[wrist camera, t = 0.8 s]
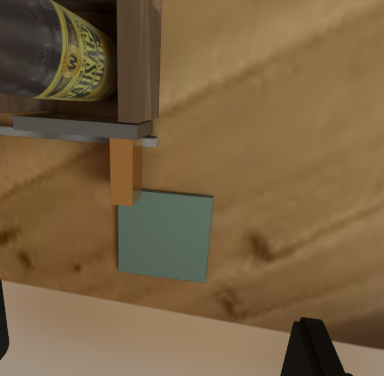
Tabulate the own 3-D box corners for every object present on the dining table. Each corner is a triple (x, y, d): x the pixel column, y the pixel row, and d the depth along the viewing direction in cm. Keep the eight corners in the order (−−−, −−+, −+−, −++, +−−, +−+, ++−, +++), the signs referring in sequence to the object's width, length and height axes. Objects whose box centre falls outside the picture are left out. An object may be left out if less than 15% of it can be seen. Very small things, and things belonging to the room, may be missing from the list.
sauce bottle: (119, 110, 30) (-76, 134, 11) (61, 87, 30) (-236, 71, 11) (138, 41, 28) (-63, -79, 9) (75, 17, 28) (-260, -155, 9)
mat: (213, 196, 31) (212, 198, 30) (205, 279, 34) (205, 282, 33) (119, 187, 32) (117, 188, 31) (120, 268, 35) (118, 271, 34)
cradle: (161, -5, 26) (138, -39, 20) (157, 145, 30) (136, 158, 23) (-47, -12, 28) (-132, -45, 22) (-25, 129, 32) (-92, 138, 25)
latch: (152, 120, 29) (137, 125, 24) (151, 191, 31) (136, 208, 27) (46, 112, 30) (11, 115, 25) (51, 181, 32) (21, 195, 28)
